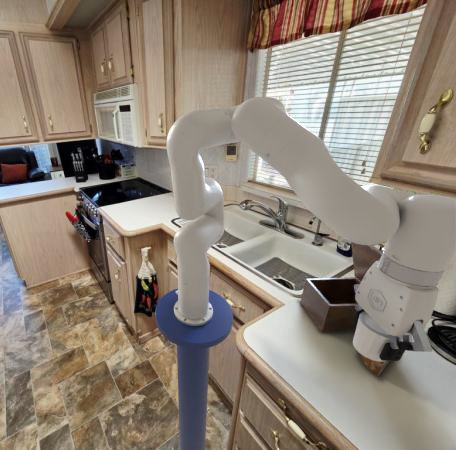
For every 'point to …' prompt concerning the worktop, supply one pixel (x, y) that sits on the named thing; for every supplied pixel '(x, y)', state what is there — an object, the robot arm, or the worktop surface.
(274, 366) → the worktop surface
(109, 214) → the worktop surface
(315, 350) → the worktop surface
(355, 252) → the chest lid
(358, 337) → the white tapered cup
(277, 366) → the worktop surface
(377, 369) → the food container
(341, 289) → the chest
